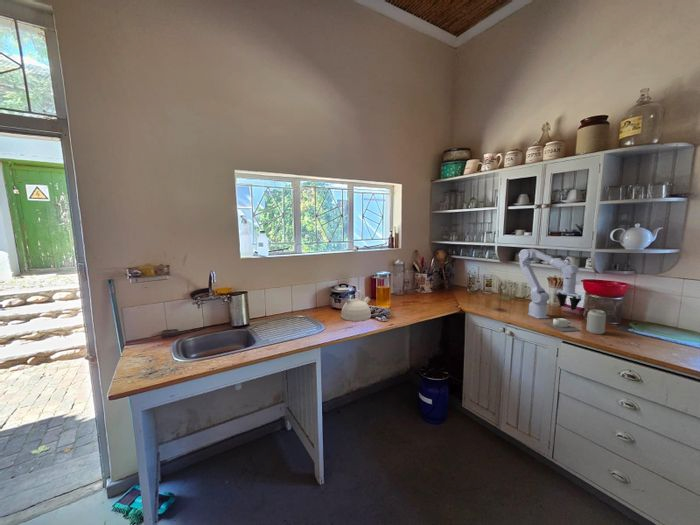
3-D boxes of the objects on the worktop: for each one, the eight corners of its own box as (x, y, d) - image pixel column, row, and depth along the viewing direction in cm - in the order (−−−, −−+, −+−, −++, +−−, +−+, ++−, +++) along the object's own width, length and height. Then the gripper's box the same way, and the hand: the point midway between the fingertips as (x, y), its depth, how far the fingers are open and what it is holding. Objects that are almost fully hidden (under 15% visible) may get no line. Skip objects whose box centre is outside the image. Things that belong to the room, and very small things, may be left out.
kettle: (377, 318, 185) (376, 291, 182) (347, 323, 177) (346, 294, 175) (364, 310, 203) (363, 285, 201) (336, 314, 196) (336, 288, 194)
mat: (543, 323, 168) (543, 322, 168) (558, 322, 169) (559, 321, 169) (563, 331, 154) (563, 331, 154) (579, 330, 155) (580, 330, 155)
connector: (556, 327, 160) (556, 320, 159) (551, 325, 163) (551, 318, 163) (571, 326, 161) (571, 319, 160) (566, 324, 164) (566, 318, 163)
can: (584, 329, 158) (586, 308, 157) (602, 331, 154) (604, 309, 153) (587, 333, 152) (589, 311, 150) (606, 335, 148) (608, 313, 146)
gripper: (552, 283, 172) (551, 304, 173) (573, 287, 157) (571, 311, 159) (563, 282, 172) (562, 304, 174) (585, 287, 158) (583, 311, 159)
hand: (567, 307), depth 166 cm, fingers open, 7 cm apart
